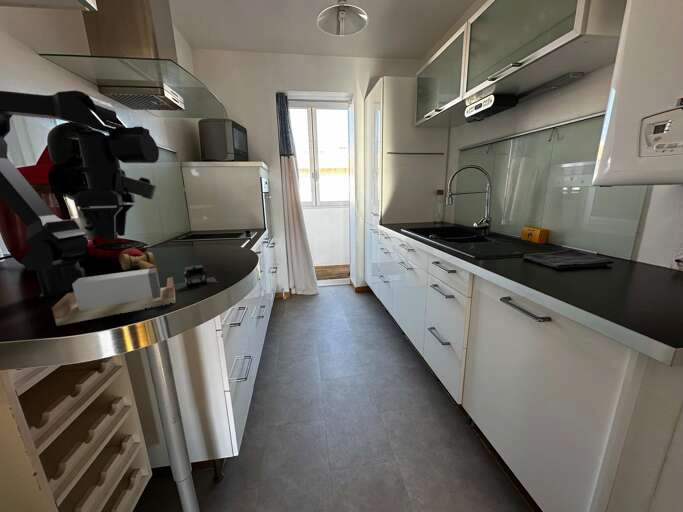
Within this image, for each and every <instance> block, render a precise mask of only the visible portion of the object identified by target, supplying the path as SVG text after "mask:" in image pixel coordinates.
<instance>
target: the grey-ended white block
mask: <svg viewBox="0 0 683 512" xmlns="http://www.w3.org/2000/svg"><path fill="white" fill-rule="evenodd" d="M72 286H73V290H74V293H75V297H76V301H77V304H78V308H79V311H83V310H88V309H94V308H100V307H105V306H111V305H116V304H122V303H127V302H133V301H139V300H144V299H150V298H155V297H160V293H161V289H160V288H161V285H160V279H159V273H157V268H152V269H144V270H142V269H138V270H130V271H129V270H128V271H123V272H122V271H121V272H116V273H115V272H114V273H108V274H100V275H94V276H86V277H85V278H79V279H78V280H76V281H75V282H74V283H73V284H72Z"/></svg>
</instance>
